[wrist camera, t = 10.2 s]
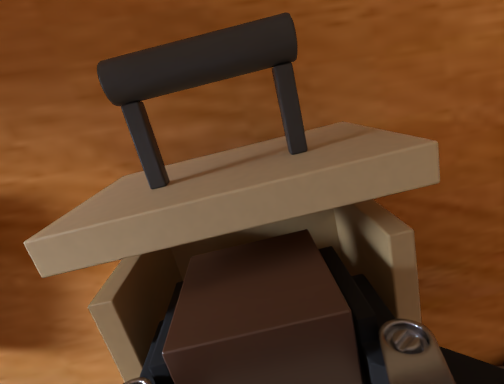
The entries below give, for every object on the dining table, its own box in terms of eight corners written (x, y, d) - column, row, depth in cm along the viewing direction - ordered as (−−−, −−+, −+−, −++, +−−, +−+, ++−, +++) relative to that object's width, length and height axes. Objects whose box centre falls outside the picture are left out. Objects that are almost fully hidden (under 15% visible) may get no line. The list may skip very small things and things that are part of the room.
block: (190, 256, 11) (160, 354, 7) (307, 228, 11) (351, 310, 7) (222, 348, 13) (213, 478, 8) (327, 324, 13) (374, 444, 8)
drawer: (88, 88, 14) (-68, 76, 7) (330, 25, 13) (430, -55, 6) (199, 374, 19) (176, 534, 12) (374, 335, 19) (455, 475, 12)
